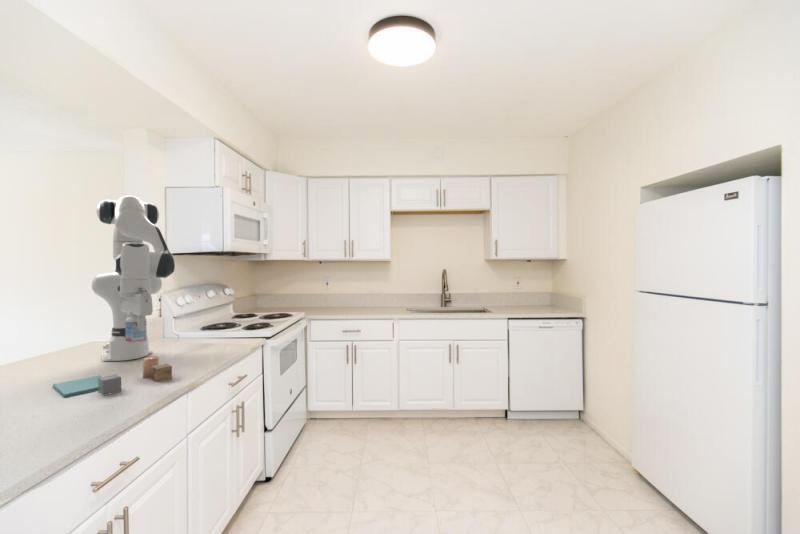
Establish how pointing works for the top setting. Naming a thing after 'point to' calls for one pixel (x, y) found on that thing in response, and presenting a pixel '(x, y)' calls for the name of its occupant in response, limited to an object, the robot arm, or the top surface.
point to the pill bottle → (135, 330)
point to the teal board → (77, 386)
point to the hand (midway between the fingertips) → (136, 326)
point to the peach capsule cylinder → (149, 365)
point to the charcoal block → (109, 384)
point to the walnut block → (161, 372)
